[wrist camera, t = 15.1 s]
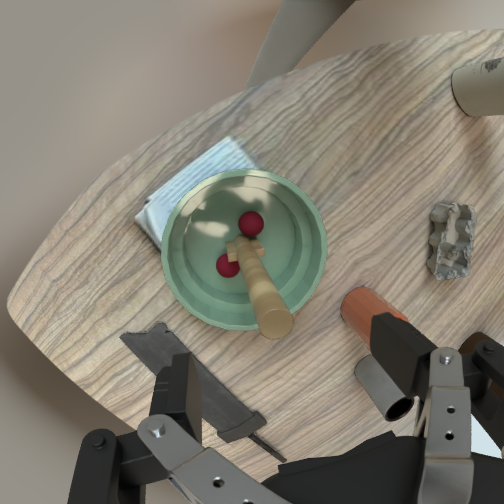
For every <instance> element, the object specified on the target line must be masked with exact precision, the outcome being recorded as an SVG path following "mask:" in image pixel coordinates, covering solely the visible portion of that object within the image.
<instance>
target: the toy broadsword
mask: <svg viewBox="0 0 504 504" xmlns="http://www.w3.org/2000/svg"><path fill="white" fill-rule="evenodd" d="M167 328H168V327H167V326H166V325H165V324H164V323H159V324H158V325H156V326H155V327H154V328H153V329H152V330H151V331H150V332H149V333H136V334H133V333H129V332H128V333H126V334H123V335H121V336H120V337H119V338H120V339H121V340H122V341H123V342H124V343H125V344H126V345H127V346H128V347H129V349H130V350H131V351H132V352H133V353H134V354H135V355H136V356H137V357H138V358H139V359H140V360H141V361H142V362H143V363H144V364H145V365H146V366H147V367H148V368H149V369H150V370H151V371H152V372H153V373H154V374H155V375H156V376H157V374H158V373H159V371H160V370H161V369H162V368H163V367H165V366H171V364H172V358H173V354H177V353H185V352H189V351H188V350H187V348H186V347H185V346H184V345H183V344H182V343H181V342H180V341H179V340H178V339H177V338H176V336H175V335H174V334H173V333H172V332H166V330H167ZM192 356H193V355H192ZM193 359H194V363H195V366H196V370H197V373H198V376H199V380H200V384H201V391H202V418H203V419H205V420H206V421H207V422H208V423H209V424H211V425H212V426H213V427H214V428H216V429H217V430H218V431H217V436H219V437H220V438H221V439H223V440H224V441H225V442H227V443H230V442H233V441H236V440H239V439H241V438H244V437H247V436H248V437H249V438H250V439H251V440H253V441H254V442H255V443H257V444H258V445H259V446H260V447H262V448H263V449H265V450H266V451H267V452H269V453H270V454H271V455H273V456H274V457H275V458H277V459H278V460H280V461H281V462H282V463H285V462H286V461H287V459H285V458H284V457H283V456H281V455H280V454H279V453H277V452H276V451H275V450H273V449H272V448H271V447H269V446H268V445H267V444H265V443H264V442H263V441H261V440H260V439H259V438H258V437H257V436H255V435H254V434H253V432H255V431H256V430H258V429H260V428H261V427H263V426H264V425H266V424H267V422H266V419H265V418H264V417H263V416H261V415H260V414H259V413H258V412H257V411H255V412H253V413H251V412H250V411H249V410H248V409H247V408H246V407H245V406H244V405H243V404H241V403H240V402H239V401H238V400H237V399H236V398H235V397H234V396H233V395H232V394H231V393H230V392H229V391H228V390H227V389H226V388H225V387H224V386H223V385H222V384H221V383H220V382H219V381H217V380H216V379H215V378H214V377H213V376H212V375H211V373H210V372H209V371H208V370H207V369H206V368H205V367H204V366H203V365H202V364H201V363H200V362H199V361H198V360H197V359H196V358H195V357H194V356H193Z"/></svg>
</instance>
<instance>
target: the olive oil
mask: <svg viewBox="0 0 504 504" xmlns="http://www.w3.org/2000/svg"><path fill="white" fill-rule="evenodd" d="M481 340H492V341H494V340H493V339H491V338H490V337H488V336H487V335H485V334H484V333H482V332H477V333H475V334H473V335H471V336H470V337H469V338H468V339H467V340H466V341H465V342H464V344H463V345H462V346H461V348H460V349H459V351H458V352H459V353H460V354H466V353H471V352H474V349H475V346H476V344H477V343H478V342H479V341H481ZM495 342H496V341H495ZM498 344H499V343H498ZM501 346H502V345H501ZM502 347H503V348H504V346H502ZM489 388H490V389H491V390H492V391H493V392H494V393H495V394H496V395H497V396H498V397H499V398H500V399H501V400H502V399H503V392H502V390H501V389H500V388H499V387H498V386H497V385H496V384H495V383H494V382H493V381H492V382H491V384H490V386H489Z"/></svg>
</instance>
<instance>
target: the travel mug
mask: <svg viewBox="0 0 504 504" xmlns="http://www.w3.org/2000/svg"><path fill="white" fill-rule="evenodd" d="M452 87H453V92H454V95H455V97H456V100H457V102H458V104H459V105H460V107H461V108H462V110H463V111H464V112H465V113H466V114H468V115H469V116H472V117H480V116H493V115H504V57H502V58H498V59H493V60H489V61H485V62H481V63H477V64H473V65H470V66H466V67H462V68H459V69H456V70H455V71H454V73H453V76H452Z"/></svg>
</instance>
